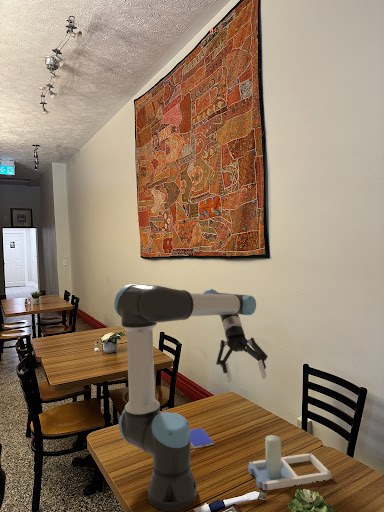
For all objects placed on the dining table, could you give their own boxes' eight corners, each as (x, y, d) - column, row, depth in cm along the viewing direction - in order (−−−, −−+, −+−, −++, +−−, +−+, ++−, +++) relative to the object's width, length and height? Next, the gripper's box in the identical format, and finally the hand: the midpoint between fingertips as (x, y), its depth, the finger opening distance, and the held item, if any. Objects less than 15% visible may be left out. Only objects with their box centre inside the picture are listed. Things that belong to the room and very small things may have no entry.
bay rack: (260, 491, 113) (260, 485, 113) (246, 468, 125) (246, 462, 125) (331, 479, 118) (331, 473, 118) (311, 458, 130) (311, 452, 130)
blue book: (183, 431, 150) (194, 446, 138) (202, 427, 153) (213, 441, 141) (183, 434, 150) (194, 450, 138) (202, 431, 153) (213, 445, 141)
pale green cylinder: (275, 481, 117) (275, 445, 117) (262, 474, 121) (262, 439, 120) (284, 474, 121) (283, 439, 120) (271, 467, 124) (270, 433, 124)
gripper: (259, 333, 154) (275, 380, 139) (202, 337, 148) (213, 386, 134) (264, 323, 148) (281, 371, 134) (205, 326, 143) (216, 377, 129)
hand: (247, 379), depth 134 cm, fingers open, 13 cm apart
